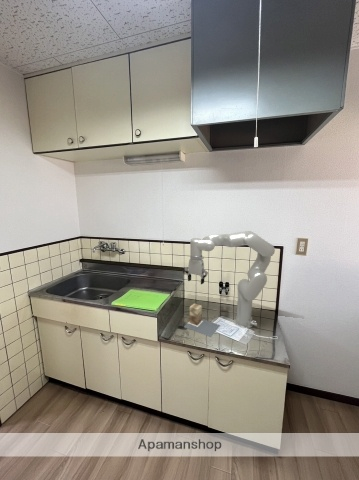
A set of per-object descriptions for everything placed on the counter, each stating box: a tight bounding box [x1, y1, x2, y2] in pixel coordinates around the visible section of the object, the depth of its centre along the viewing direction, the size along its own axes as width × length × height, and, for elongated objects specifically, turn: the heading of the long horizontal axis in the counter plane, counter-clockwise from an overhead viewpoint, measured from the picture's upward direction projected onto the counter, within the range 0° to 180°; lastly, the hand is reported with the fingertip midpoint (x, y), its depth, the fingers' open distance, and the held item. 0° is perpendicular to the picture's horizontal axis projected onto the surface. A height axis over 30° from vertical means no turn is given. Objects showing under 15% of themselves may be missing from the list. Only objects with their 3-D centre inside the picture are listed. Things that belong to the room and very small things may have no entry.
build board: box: [183, 318, 221, 338], centre depth 149 cm, size 20×15×1 cm
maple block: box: [189, 303, 203, 318], centre depth 151 cm, size 6×6×6 cm
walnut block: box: [189, 313, 203, 326], centre depth 152 cm, size 6×6×6 cm
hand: (195, 282), depth 147 cm, fingers open, 9 cm apart
